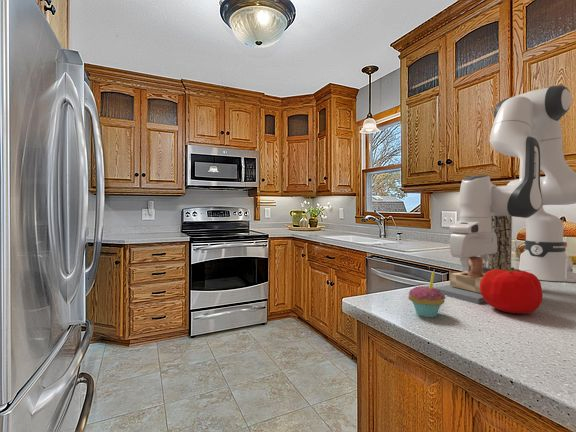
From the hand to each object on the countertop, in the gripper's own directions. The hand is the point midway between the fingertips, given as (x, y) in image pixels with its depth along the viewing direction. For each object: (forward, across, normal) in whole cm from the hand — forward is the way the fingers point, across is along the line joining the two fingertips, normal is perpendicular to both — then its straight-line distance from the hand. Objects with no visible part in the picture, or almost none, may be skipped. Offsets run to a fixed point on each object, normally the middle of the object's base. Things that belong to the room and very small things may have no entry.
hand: (474, 269), depth 98 cm
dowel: (+6, 0, 0) cm, 6 cm away
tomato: (+8, +10, +14) cm, 19 cm away
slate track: (+8, +2, 0) cm, 8 cm away
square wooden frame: (+6, 0, 0) cm, 6 cm away
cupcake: (+8, +30, +5) cm, 32 cm away
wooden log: (+8, -16, -1) cm, 18 cm away
